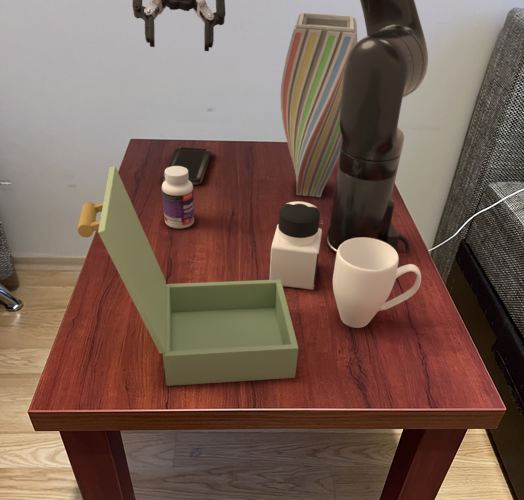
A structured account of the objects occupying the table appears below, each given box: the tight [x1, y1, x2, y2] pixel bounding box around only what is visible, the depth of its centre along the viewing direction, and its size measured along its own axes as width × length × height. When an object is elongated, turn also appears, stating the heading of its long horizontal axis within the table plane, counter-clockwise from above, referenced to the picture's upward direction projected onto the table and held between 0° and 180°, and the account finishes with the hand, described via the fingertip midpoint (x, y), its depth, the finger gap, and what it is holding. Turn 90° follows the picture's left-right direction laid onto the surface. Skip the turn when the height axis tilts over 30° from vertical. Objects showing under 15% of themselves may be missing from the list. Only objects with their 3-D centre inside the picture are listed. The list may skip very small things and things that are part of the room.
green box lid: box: [76, 165, 167, 355], centre depth 64 cm, size 17×15×4 cm
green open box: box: [162, 279, 299, 387], centre depth 73 cm, size 17×15×5 cm
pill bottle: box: [161, 166, 195, 229], centre depth 95 cm, size 5×5×10 cm
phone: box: [162, 147, 212, 186], centre depth 114 cm, size 8×1×15 cm
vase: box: [280, 12, 359, 198], centre depth 99 cm, size 14×14×30 cm
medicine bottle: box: [268, 201, 323, 291], centre depth 84 cm, size 7×7×12 cm
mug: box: [332, 237, 422, 329], centre depth 76 cm, size 12×8×11 cm
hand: (179, 46), depth 85 cm, fingers open, 8 cm apart
